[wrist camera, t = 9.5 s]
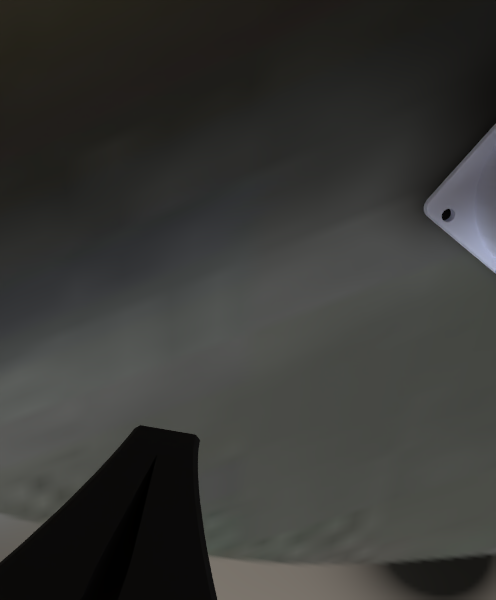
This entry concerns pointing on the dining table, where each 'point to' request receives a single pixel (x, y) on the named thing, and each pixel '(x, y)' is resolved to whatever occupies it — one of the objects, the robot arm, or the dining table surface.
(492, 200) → the robot arm
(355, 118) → the dining table surface
